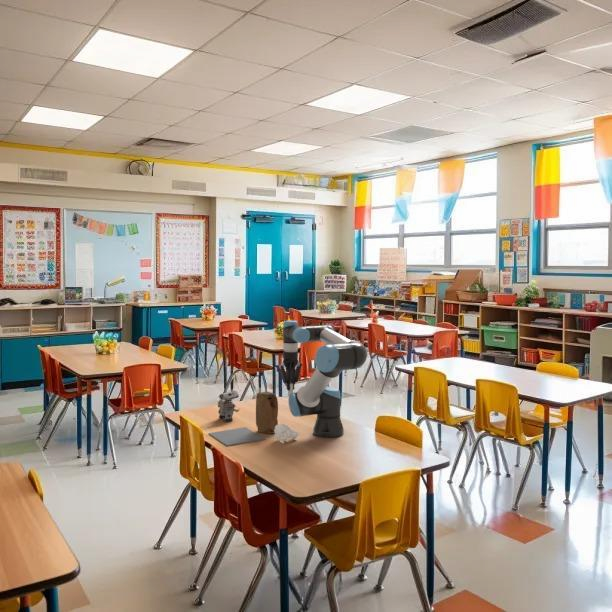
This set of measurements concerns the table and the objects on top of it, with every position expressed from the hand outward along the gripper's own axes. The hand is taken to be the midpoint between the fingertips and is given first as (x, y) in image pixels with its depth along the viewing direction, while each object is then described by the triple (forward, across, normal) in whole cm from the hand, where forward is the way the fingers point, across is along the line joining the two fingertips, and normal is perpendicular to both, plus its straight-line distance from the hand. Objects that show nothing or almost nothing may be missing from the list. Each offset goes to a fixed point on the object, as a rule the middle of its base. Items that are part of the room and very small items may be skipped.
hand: (290, 396), depth 307 cm
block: (+17, +14, 0) cm, 21 cm away
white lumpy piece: (+17, +12, +18) cm, 28 cm away
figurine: (+17, +20, -31) cm, 41 cm away
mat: (+17, +30, 0) cm, 35 cm away
